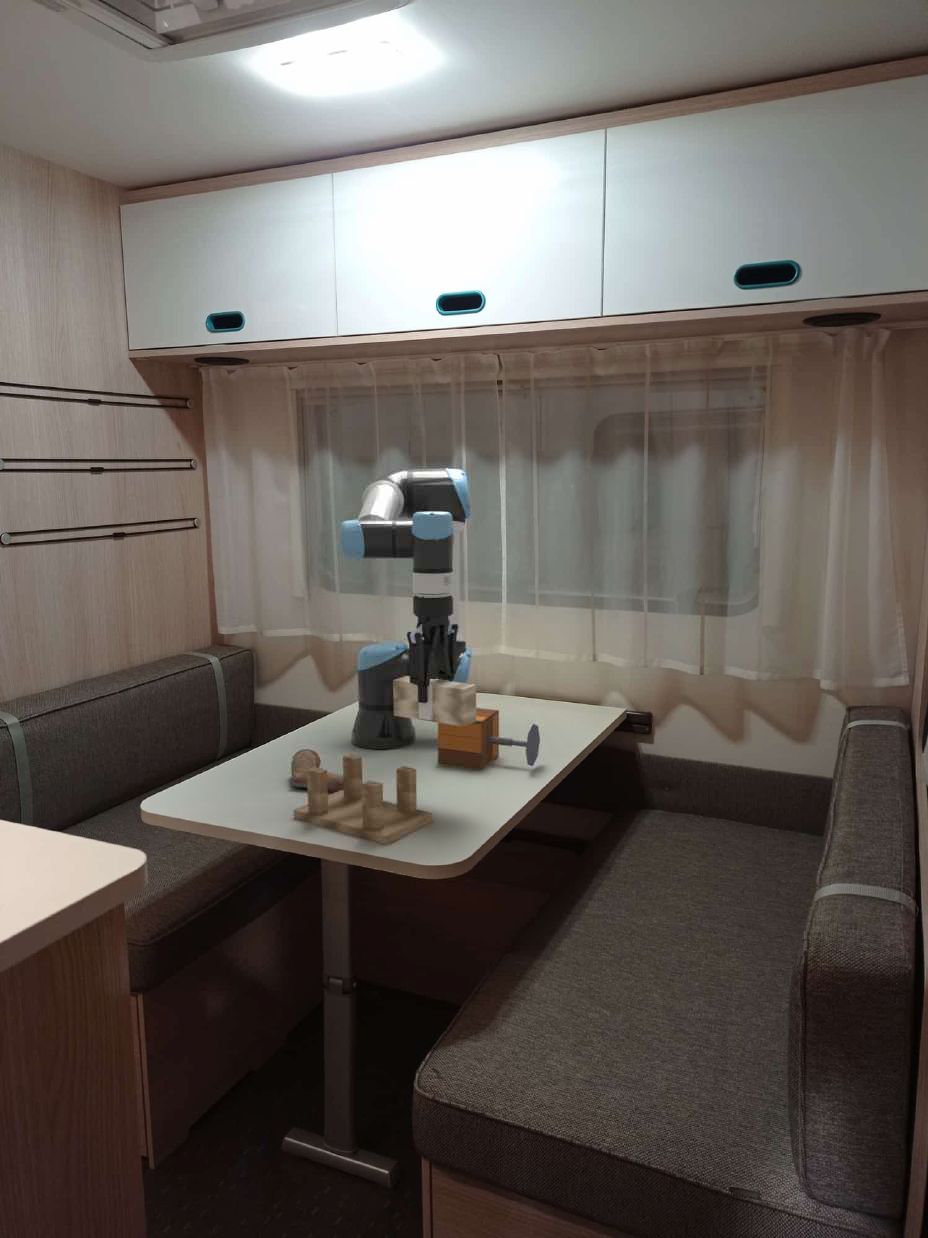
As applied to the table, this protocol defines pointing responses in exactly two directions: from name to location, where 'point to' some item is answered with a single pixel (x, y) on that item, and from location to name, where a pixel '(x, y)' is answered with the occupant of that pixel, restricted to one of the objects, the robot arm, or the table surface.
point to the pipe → (307, 761)
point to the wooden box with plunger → (480, 742)
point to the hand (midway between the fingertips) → (433, 715)
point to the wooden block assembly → (363, 804)
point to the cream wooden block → (437, 701)
